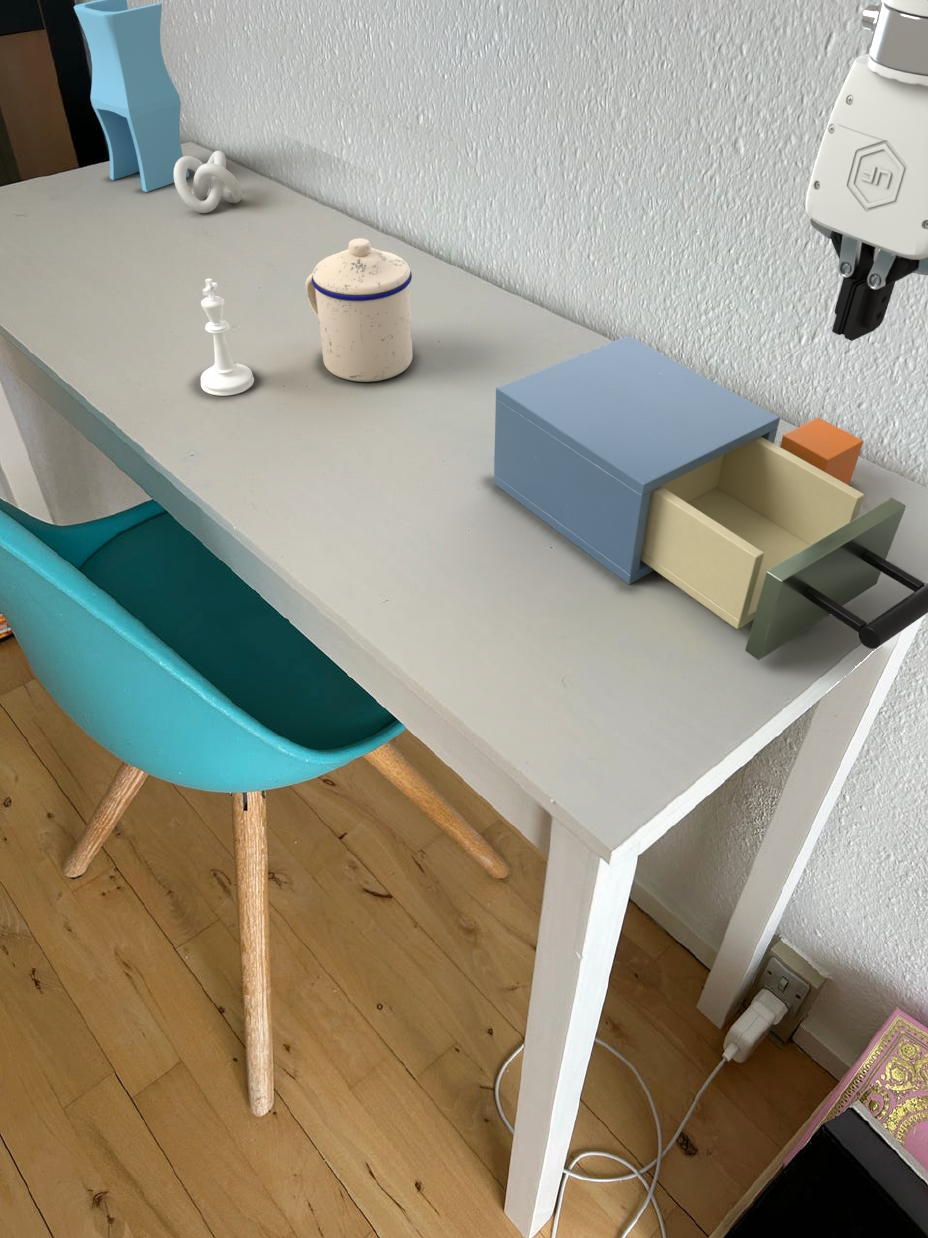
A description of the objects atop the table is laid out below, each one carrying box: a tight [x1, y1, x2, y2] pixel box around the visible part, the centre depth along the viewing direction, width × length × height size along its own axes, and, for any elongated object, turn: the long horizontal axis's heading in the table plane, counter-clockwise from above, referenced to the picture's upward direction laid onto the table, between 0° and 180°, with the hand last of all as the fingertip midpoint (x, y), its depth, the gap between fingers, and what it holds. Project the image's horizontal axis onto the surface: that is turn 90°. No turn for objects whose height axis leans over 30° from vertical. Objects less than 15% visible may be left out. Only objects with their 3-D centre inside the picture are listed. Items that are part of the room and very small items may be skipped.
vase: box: [73, 0, 190, 193], centre depth 125 cm, size 8×8×20 cm
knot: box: [174, 150, 243, 214], centre depth 122 cm, size 8×8×6 cm
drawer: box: [641, 436, 928, 661], centre depth 67 cm, size 20×13×7 cm, turn 37°
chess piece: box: [200, 278, 255, 397], centre depth 88 cm, size 5×5×10 cm
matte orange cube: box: [779, 417, 864, 486], centre depth 78 cm, size 4×4×4 cm
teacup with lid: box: [304, 237, 414, 383], centre depth 91 cm, size 12×9×12 cm
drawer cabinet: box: [493, 335, 781, 585], centre depth 75 cm, size 16×14×9 cm
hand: (854, 330), depth 70 cm, fingers closed
